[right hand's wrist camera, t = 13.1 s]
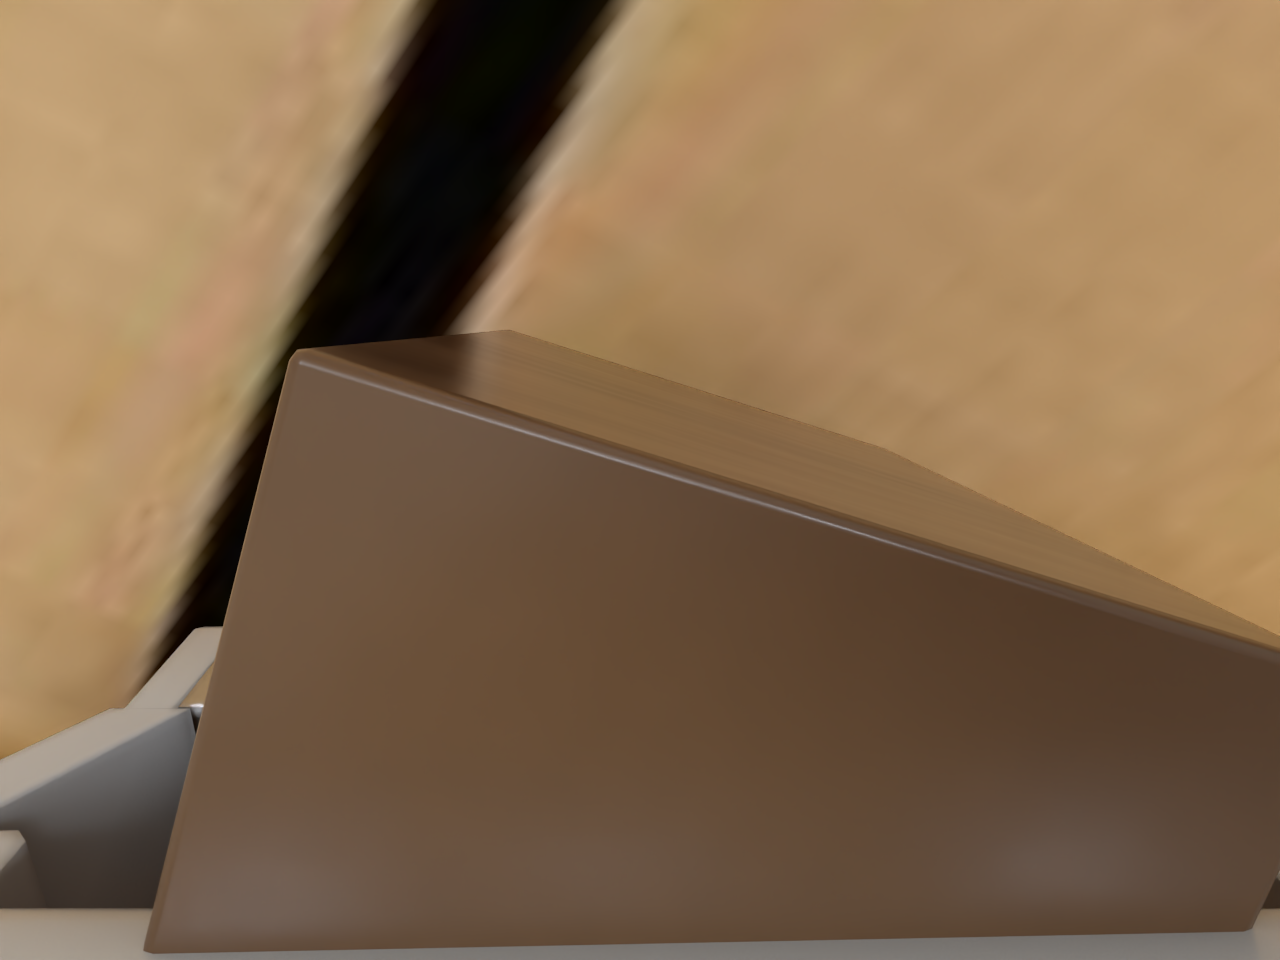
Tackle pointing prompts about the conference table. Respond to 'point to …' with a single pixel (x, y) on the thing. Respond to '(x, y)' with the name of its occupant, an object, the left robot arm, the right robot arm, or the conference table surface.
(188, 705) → the right robot arm
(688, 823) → the box
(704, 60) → the conference table surface
